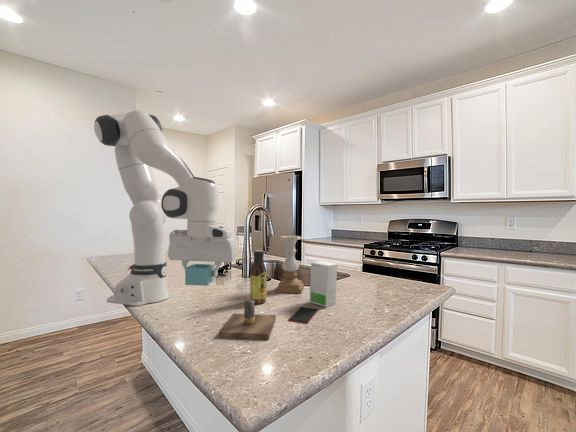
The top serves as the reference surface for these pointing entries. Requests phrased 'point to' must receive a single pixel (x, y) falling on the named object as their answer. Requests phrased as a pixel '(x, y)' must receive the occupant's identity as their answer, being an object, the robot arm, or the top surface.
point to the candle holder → (290, 268)
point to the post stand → (248, 324)
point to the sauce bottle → (258, 278)
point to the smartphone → (303, 315)
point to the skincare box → (323, 283)
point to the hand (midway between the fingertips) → (201, 275)
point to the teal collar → (199, 274)
